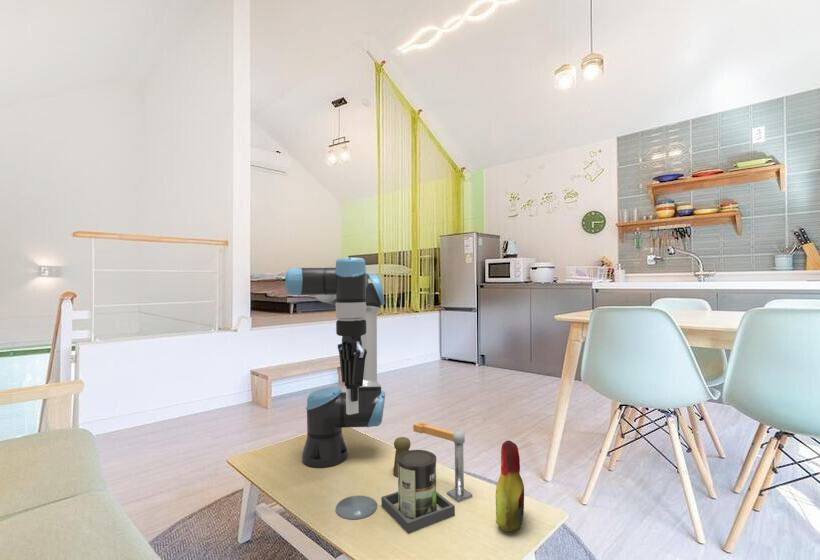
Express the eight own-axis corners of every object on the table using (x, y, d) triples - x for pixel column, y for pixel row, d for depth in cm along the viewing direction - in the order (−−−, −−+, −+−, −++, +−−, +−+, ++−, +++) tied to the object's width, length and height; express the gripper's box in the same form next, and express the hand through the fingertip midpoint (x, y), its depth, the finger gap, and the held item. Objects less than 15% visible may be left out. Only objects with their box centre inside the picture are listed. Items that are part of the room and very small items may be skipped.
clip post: (447, 494, 114) (446, 441, 114) (461, 489, 117) (460, 438, 117) (458, 502, 110) (457, 448, 110) (472, 497, 113) (471, 444, 113)
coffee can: (438, 501, 110) (438, 450, 111) (434, 524, 100) (434, 467, 100) (402, 498, 112) (401, 448, 112) (394, 520, 102) (393, 464, 102)
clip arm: (419, 428, 124) (419, 419, 124) (466, 441, 114) (466, 431, 114) (413, 431, 122) (413, 422, 122) (460, 444, 111) (460, 435, 111)
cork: (394, 478, 124) (393, 442, 124) (391, 469, 130) (391, 435, 130) (413, 477, 125) (413, 441, 125) (410, 468, 131) (410, 434, 131)
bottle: (506, 507, 107) (505, 432, 107) (530, 514, 104) (529, 437, 104) (490, 532, 97) (489, 448, 97) (517, 540, 94) (516, 454, 94)
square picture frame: (381, 506, 109) (381, 496, 109) (425, 491, 116) (425, 482, 116) (408, 533, 97) (407, 523, 97) (454, 515, 104) (454, 505, 104)
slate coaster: (329, 503, 110) (329, 502, 110) (366, 492, 116) (366, 491, 116) (344, 524, 101) (344, 523, 101) (384, 511, 106) (384, 510, 106)
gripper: (376, 320, 98) (377, 417, 98) (354, 316, 109) (355, 404, 109) (347, 322, 94) (348, 423, 94) (327, 318, 105) (328, 408, 105)
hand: (352, 413), depth 101 cm, fingers closed
